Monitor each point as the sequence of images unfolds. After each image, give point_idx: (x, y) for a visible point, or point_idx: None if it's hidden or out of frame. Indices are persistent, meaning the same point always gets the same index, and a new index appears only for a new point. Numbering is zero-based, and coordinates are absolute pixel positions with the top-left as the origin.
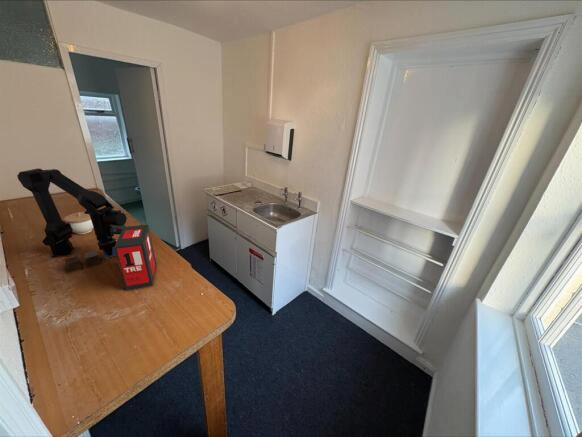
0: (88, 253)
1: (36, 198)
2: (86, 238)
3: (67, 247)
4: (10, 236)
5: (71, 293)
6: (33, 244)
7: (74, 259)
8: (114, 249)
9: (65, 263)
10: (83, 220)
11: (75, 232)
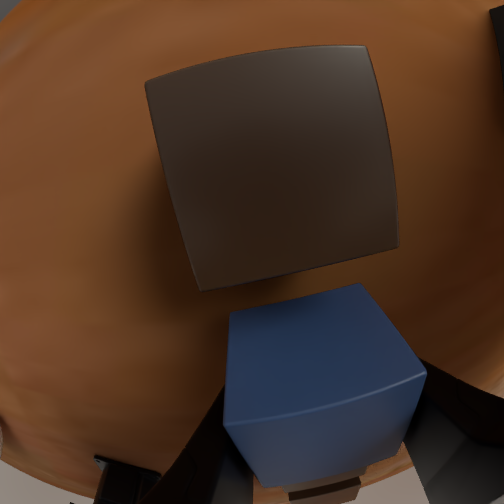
0: (292, 484)
1: None
2: (13, 408)
3: (137, 498)
4: (55, 485)
5: (494, 382)
6: (81, 485)
7: (335, 496)
8: (407, 351)
9: (354, 499)
10: None
11: (1, 429)
